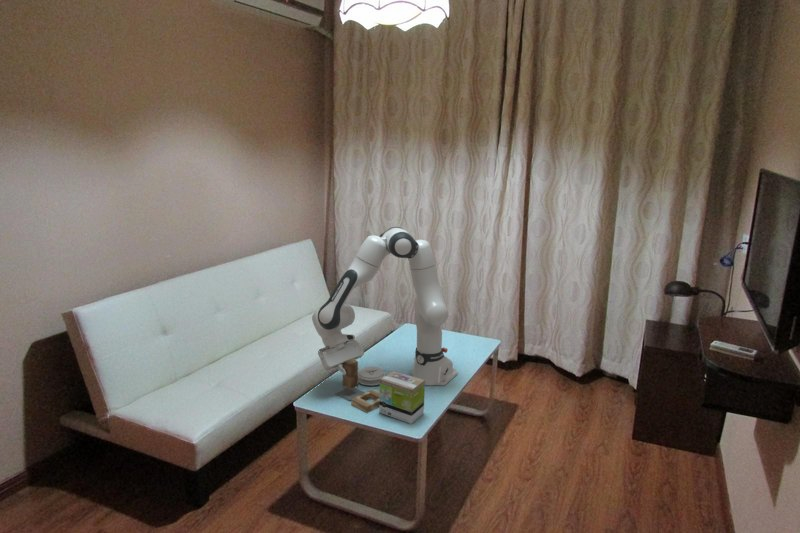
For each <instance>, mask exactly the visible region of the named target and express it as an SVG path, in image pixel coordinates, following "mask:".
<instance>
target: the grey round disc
mask: <svg viewBox="0 0 800 533" xmlns="http://www.w3.org/2000/svg"><path fill="white" fill-rule="evenodd" d="M386 375H387V374H386V371H385V370H384V369H382V368H380V367H376V366H367V367H366V366H365V367H363V368H361V369H358V384H361V385H364V386H378V385H379V386H380V379H382V378H383V377H385V376H386Z"/></svg>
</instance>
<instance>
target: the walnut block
mask: <svg viewBox="0 0 800 533" xmlns="http://www.w3.org/2000/svg"><path fill="white" fill-rule="evenodd" d="M356 360H357V359H356ZM356 360H354V359H349V360H347V361H344V363H343V365H342V368H344V369H347V371H348V374H346V375H343V374H342V387H344V388H348V389H352V388H354V387H355V388H357V387H359V386H358V384H359V382H358V371H359V361H358V360H357V361H356Z"/></svg>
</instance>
